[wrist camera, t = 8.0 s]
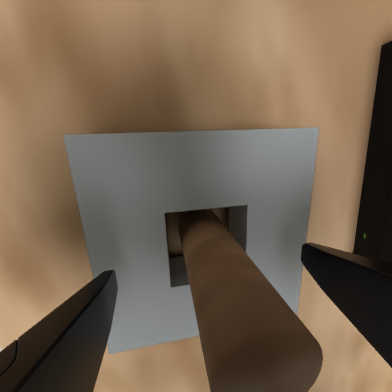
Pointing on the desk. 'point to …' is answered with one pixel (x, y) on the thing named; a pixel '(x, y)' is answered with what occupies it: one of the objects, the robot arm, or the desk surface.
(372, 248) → the disc drive
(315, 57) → the desk surface
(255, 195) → the block
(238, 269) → the walnut pin
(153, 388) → the desk surface
